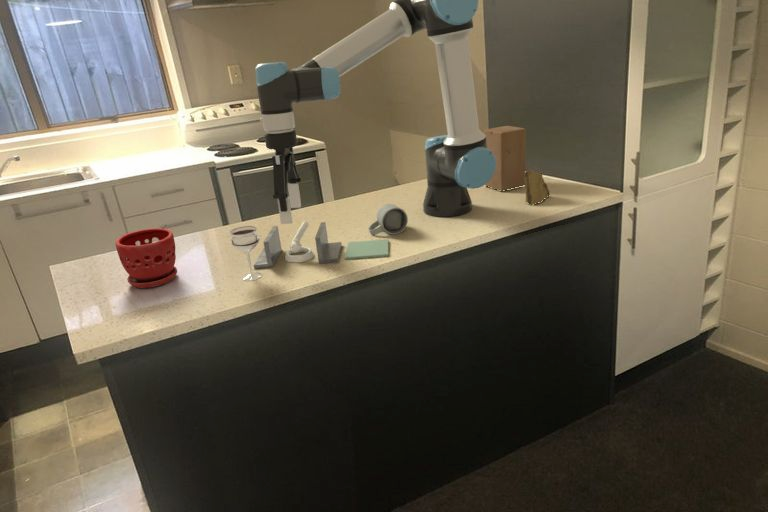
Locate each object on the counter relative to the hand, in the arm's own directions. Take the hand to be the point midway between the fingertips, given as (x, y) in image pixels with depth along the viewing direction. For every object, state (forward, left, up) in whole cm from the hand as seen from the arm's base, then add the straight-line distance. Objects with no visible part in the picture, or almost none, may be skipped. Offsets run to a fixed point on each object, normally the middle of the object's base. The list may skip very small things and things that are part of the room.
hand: (291, 215), depth 136 cm
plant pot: (+35, +9, -12) cm, 38 cm away
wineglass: (+10, +11, -12) cm, 19 cm away
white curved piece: (0, 0, -12) cm, 12 cm away
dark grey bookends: (0, 0, -12) cm, 12 cm away
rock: (-71, -33, -12) cm, 80 cm away
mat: (-18, -1, -12) cm, 22 cm away
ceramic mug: (-24, -15, -12) cm, 30 cm away
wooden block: (-64, -52, -12) cm, 84 cm away
